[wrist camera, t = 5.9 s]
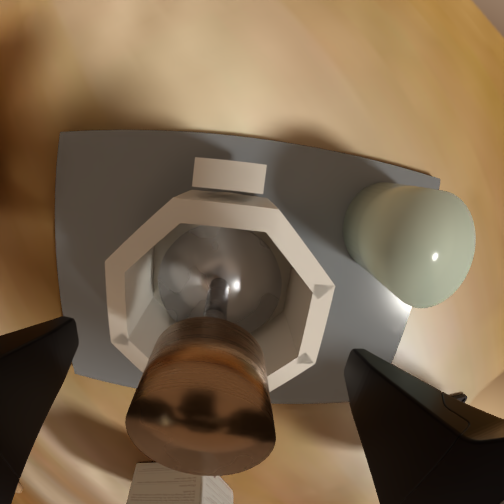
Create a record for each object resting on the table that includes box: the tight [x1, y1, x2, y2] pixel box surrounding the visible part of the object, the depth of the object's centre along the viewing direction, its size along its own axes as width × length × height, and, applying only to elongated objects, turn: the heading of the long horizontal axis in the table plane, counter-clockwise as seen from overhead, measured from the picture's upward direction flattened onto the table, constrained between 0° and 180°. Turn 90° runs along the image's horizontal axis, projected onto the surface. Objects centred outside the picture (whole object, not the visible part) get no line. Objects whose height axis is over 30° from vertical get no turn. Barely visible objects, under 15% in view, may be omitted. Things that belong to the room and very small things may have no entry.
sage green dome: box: [343, 182, 476, 308], centre depth 13 cm, size 5×5×5 cm
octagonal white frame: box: [105, 157, 335, 392], centre depth 13 cm, size 8×10×5 cm
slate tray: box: [55, 130, 440, 404], centre depth 16 cm, size 22×16×1 cm
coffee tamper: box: [125, 225, 282, 476], centre depth 10 cm, size 6×6×9 cm
